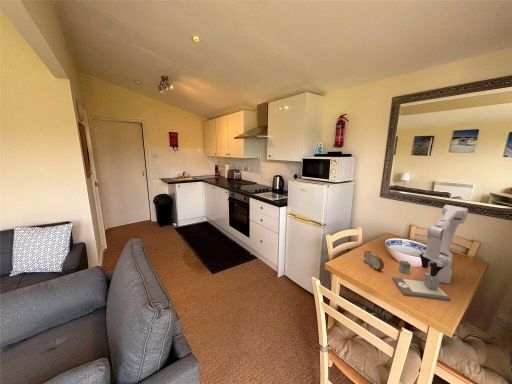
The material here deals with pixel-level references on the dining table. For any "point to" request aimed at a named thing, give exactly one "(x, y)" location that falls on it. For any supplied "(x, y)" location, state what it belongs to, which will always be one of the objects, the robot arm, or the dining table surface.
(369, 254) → the tin
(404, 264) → the block
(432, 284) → the block
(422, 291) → the scale
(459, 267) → the dining table surface
